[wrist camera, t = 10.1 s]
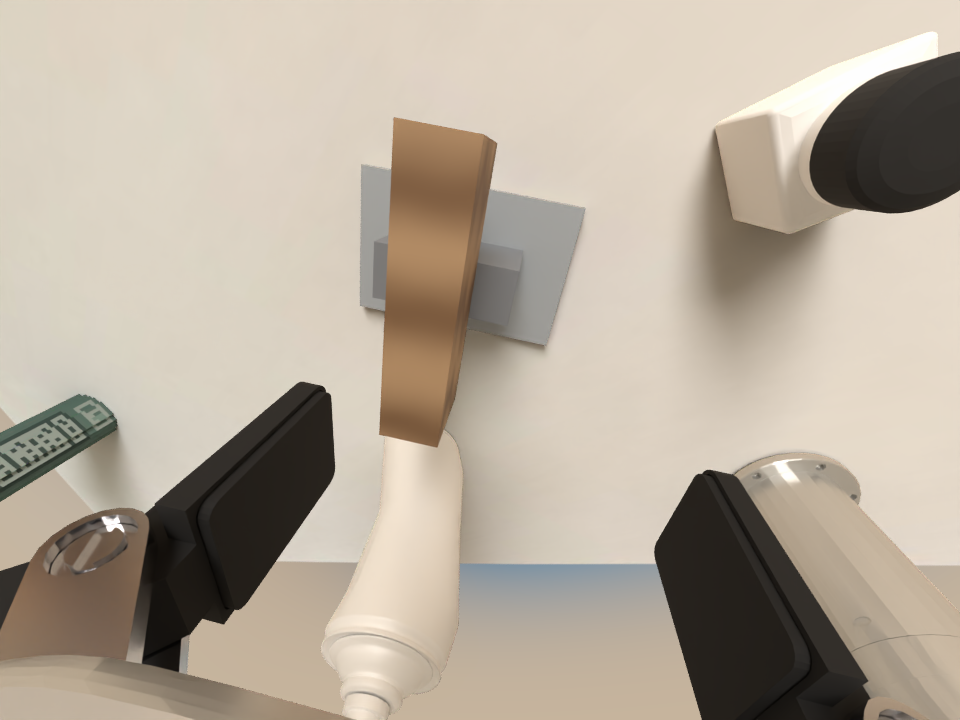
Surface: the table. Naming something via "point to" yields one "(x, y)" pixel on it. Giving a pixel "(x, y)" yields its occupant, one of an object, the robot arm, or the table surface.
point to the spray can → (402, 584)
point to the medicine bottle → (848, 140)
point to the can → (50, 440)
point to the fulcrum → (487, 258)
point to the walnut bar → (430, 272)
